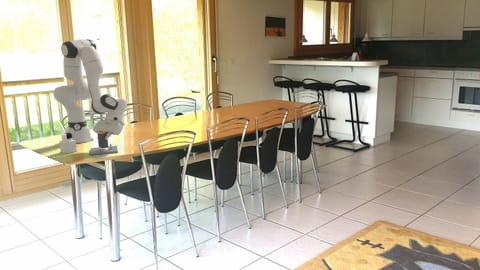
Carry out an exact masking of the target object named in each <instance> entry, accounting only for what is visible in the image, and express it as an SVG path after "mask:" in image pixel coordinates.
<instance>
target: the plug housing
mask: <svg viewBox="0 0 480 270" xmlns="http://www.w3.org/2000/svg"><path fill="white" fill-rule="evenodd" d="M96 134H97V137H98V138H97V142H98V147H99V146H101V148H106V147H108V146H109V141H108V139H109V138H108V139H107V140H105V139H104V137H105V136H106V135H107V133H106V132H99V133H96Z"/></svg>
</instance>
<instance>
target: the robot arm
mask: <svg viewBox="0 0 480 270" xmlns="http://www.w3.org/2000/svg"><path fill="white" fill-rule="evenodd" d="M60 49H61V53H62V55H63V75H64V77H65V78H66V79H67V80H69V81H71V82H73V84H71V85H70V84H67V85H61V86H58V87H55V88H54V90H53V98H54V99H55V100H56V101H57V103H60V104H61V105H62V106H63V107H64V108H65V110H66V114H67V125H68V128H67V130H66V133H72V140H75V141H76V144H81V143H87V142H91V141H94V137H92V136H91V131H90V128H89V127H88V122H87V120H86V112H85V111H86V110H85V109H84V108H83V107H82V106H80V105H76V102H79V101H86V100H89V99H91V106H90V107H91V110H92V111H93V112H94V113H95V114H97V115H104V114H105V113H106V112H107V114H106V115H105V117H104V119H100V120H98V121H96V124H94V127H93V128H92V131H93V133H95V134H98V133H99V132H106V133H107V135H106V136H105V137H104V139H105V140H107V139H109V138H110V137H112V135H115V136H119V135H120V134H121V133H122V131H123V129H124V126H125V123H124V121H123V120H122V116H123V115H124V114H125V112H126V109H127V107H128V103H127V101H126V99H125V98H123V97H121V96H112V95H111V94H107V93H106V94H103V95H102V93H101V89H100V86H99V85H100V83H99V82H100V79H101V76H102V75H103V72H104V68H103V63H102V61H101V57H100V55H99V53H98V52H97V44H96V42H95V41H94V40H92V39H88V38H86V39H76V40H67V41H64V42H63V43H62V44H61V48H60ZM82 66H83V67H82ZM82 68H83V69H84V72H85V77H86V81H87V82H86V81H85V79H84V75H83V69H82ZM97 139H98V136H97Z"/></svg>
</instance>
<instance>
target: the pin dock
mask: <svg viewBox="0 0 480 270" xmlns="http://www.w3.org/2000/svg"><path fill="white" fill-rule="evenodd" d="M118 153H119V151H118V145H113V143H110V144H109V145H108V147H106V148H101V146H99V145H98V147H91V148H90V151H89V156H99V155H107V154H110V155H111V154H118Z"/></svg>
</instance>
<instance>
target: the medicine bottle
mask: <svg viewBox="0 0 480 270" xmlns="http://www.w3.org/2000/svg"><path fill="white" fill-rule="evenodd" d="M58 144H59V150H60V153H62V154H66V155H67V154H72V153H75V152H77V151H78V150H77V143H76V141H75V140H72V133H67V132H64V133H61V140H60V141H59V143H58Z"/></svg>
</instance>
